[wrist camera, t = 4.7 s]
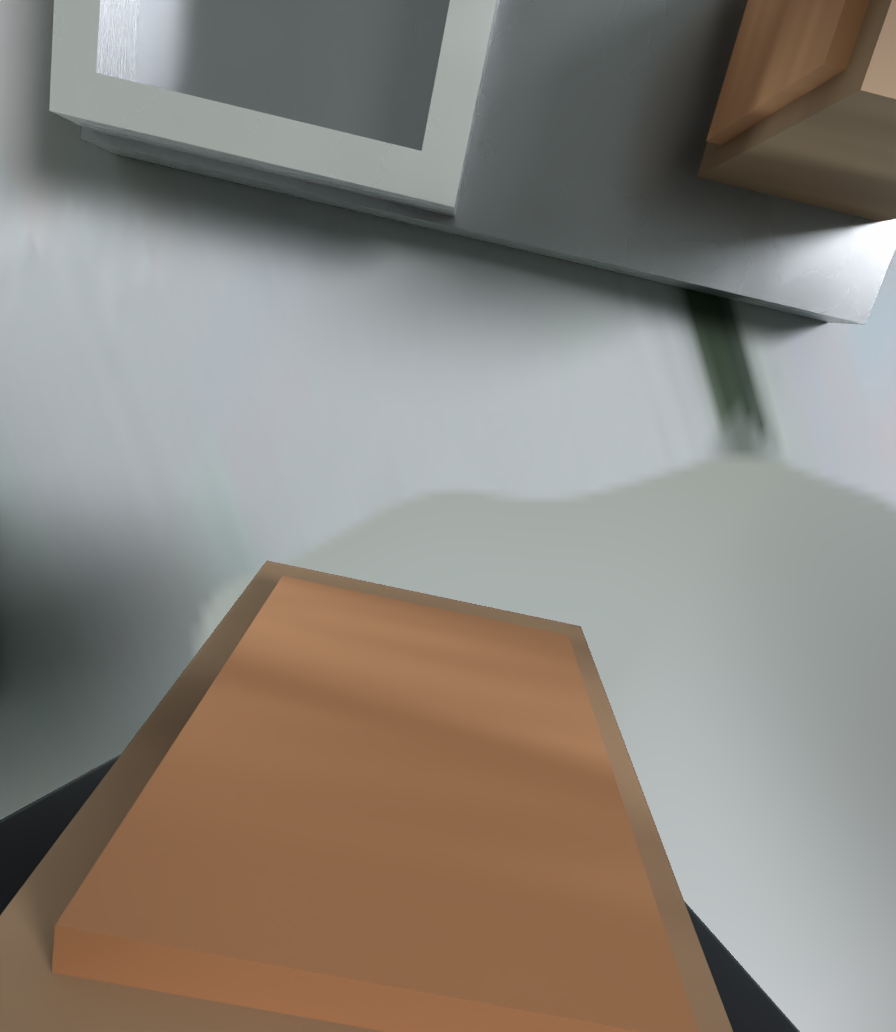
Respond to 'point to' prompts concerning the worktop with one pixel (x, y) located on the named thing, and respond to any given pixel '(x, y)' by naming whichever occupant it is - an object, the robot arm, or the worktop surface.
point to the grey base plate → (470, 128)
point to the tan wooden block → (363, 840)
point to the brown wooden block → (811, 106)
